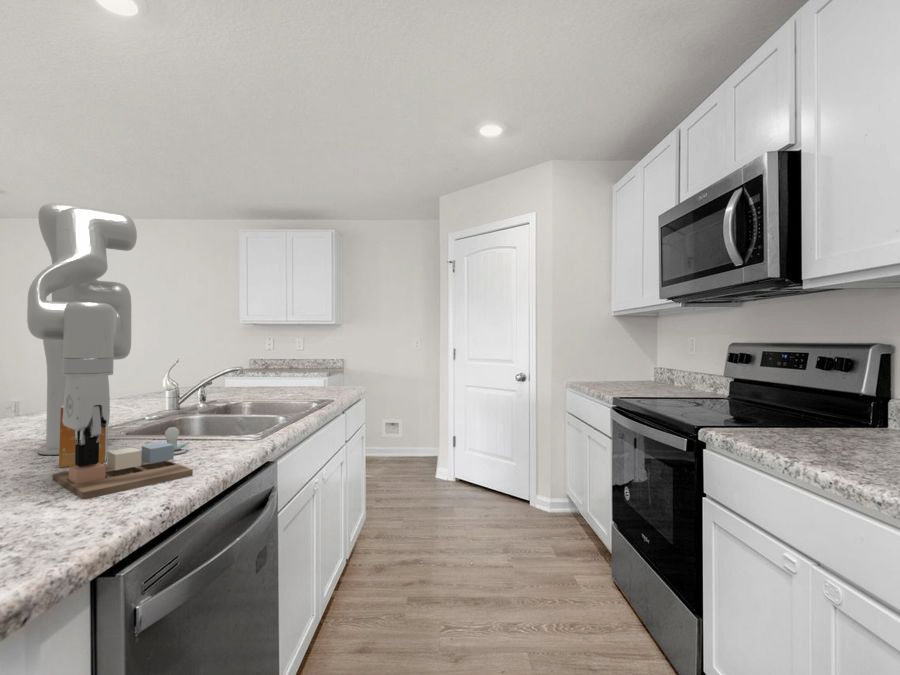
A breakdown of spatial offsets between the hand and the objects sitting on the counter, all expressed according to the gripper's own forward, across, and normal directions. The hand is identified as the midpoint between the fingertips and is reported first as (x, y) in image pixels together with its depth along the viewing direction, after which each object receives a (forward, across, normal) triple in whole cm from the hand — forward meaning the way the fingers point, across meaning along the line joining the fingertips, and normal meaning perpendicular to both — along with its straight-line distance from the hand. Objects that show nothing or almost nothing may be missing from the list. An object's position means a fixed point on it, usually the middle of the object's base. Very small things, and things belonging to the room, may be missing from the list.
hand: (87, 464), depth 86 cm
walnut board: (+4, 0, +6) cm, 7 cm away
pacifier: (+4, -14, +20) cm, 25 cm away
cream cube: (+2, 0, +6) cm, 6 cm away
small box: (+4, -20, +5) cm, 21 cm away
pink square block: (+3, 0, 0) cm, 3 cm away
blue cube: (+2, 0, +12) cm, 12 cm away
